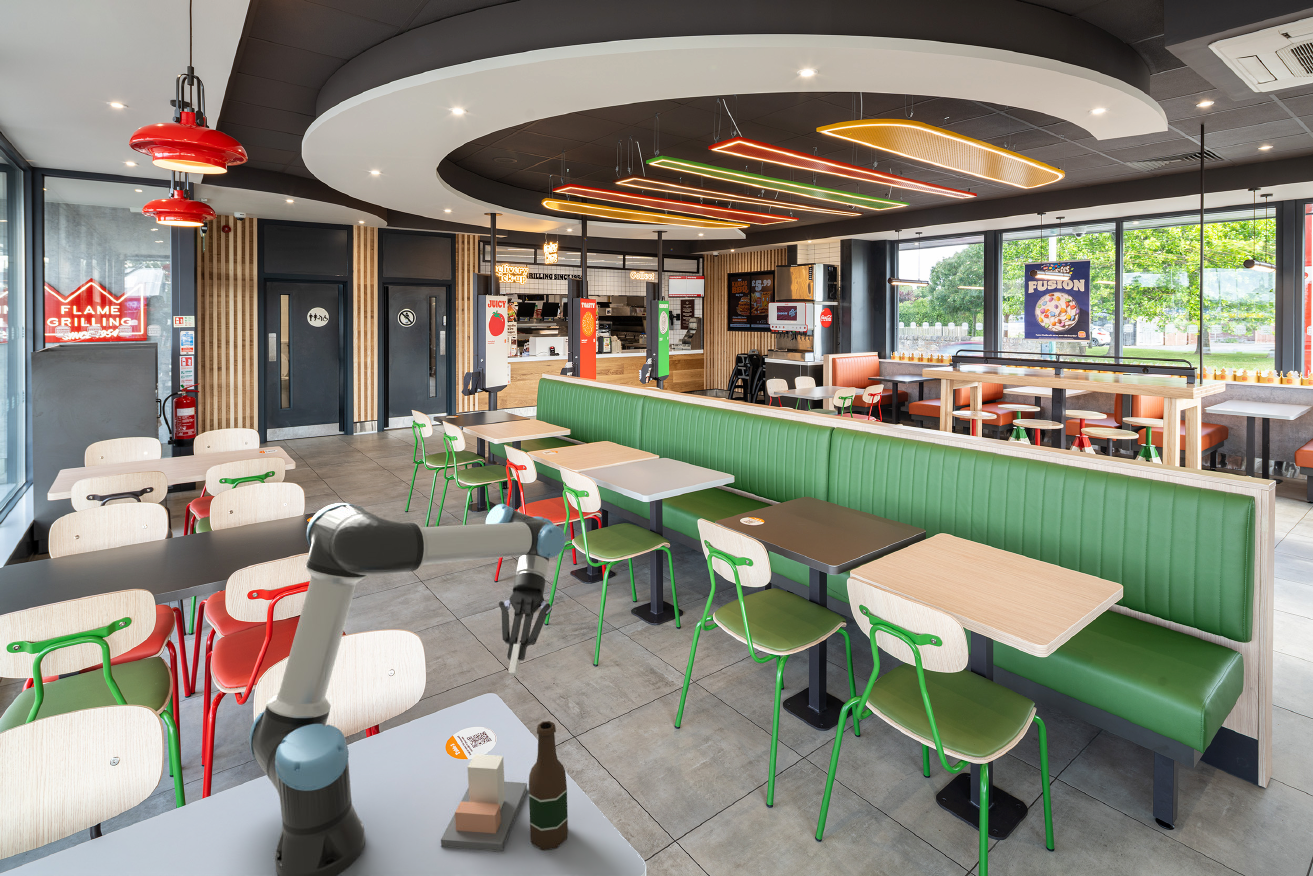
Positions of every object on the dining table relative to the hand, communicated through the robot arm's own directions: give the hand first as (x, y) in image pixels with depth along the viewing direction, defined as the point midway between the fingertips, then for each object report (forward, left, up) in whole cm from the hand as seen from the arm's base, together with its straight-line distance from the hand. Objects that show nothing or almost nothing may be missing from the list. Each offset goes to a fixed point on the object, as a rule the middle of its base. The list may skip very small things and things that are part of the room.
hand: (512, 674), depth 152 cm
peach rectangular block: (0, -25, -19) cm, 31 cm away
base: (0, -20, -20) cm, 28 cm away
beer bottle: (+14, -24, -20) cm, 34 cm away
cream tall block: (0, -19, -18) cm, 27 cm away
